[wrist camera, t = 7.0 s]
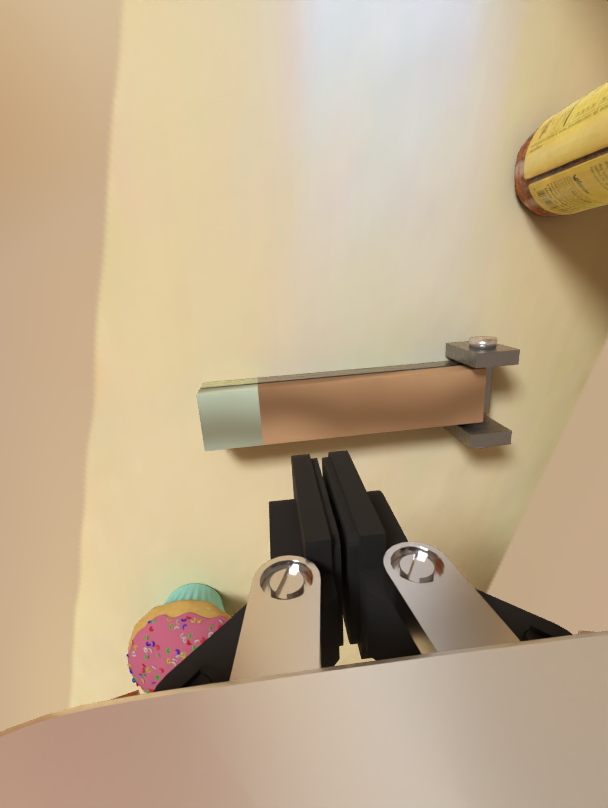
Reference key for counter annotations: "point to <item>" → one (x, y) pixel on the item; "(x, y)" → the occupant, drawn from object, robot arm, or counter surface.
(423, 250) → the counter surface
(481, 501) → the counter surface
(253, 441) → the bar
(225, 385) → the base
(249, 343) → the counter surface
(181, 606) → the cupcake
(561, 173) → the sauce bottle
